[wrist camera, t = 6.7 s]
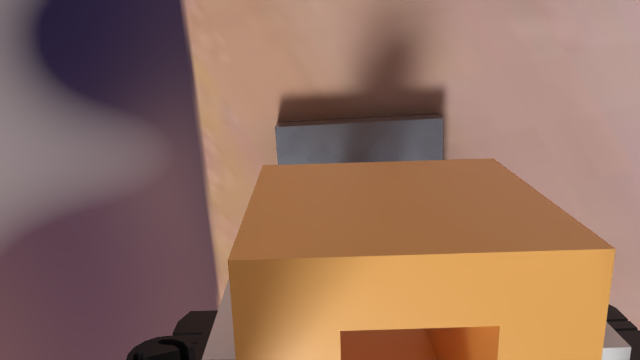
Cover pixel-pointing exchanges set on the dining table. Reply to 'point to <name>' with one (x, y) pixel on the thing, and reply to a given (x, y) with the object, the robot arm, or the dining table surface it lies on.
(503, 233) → the orange slotted box
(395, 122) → the post plate
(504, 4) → the dining table surface
